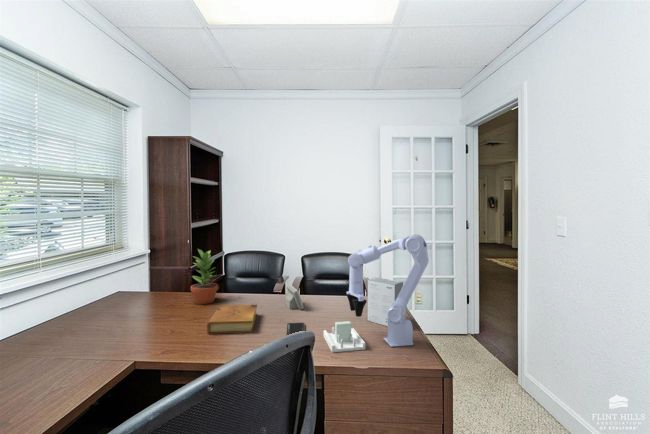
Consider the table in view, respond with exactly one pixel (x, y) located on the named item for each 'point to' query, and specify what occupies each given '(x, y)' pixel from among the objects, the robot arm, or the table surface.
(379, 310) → the hard drive box
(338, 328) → the block
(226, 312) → the diary
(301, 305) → the grey angular sculpture
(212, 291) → the potted plant
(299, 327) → the phone
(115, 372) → the table surface
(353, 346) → the dish rack
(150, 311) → the table surface
